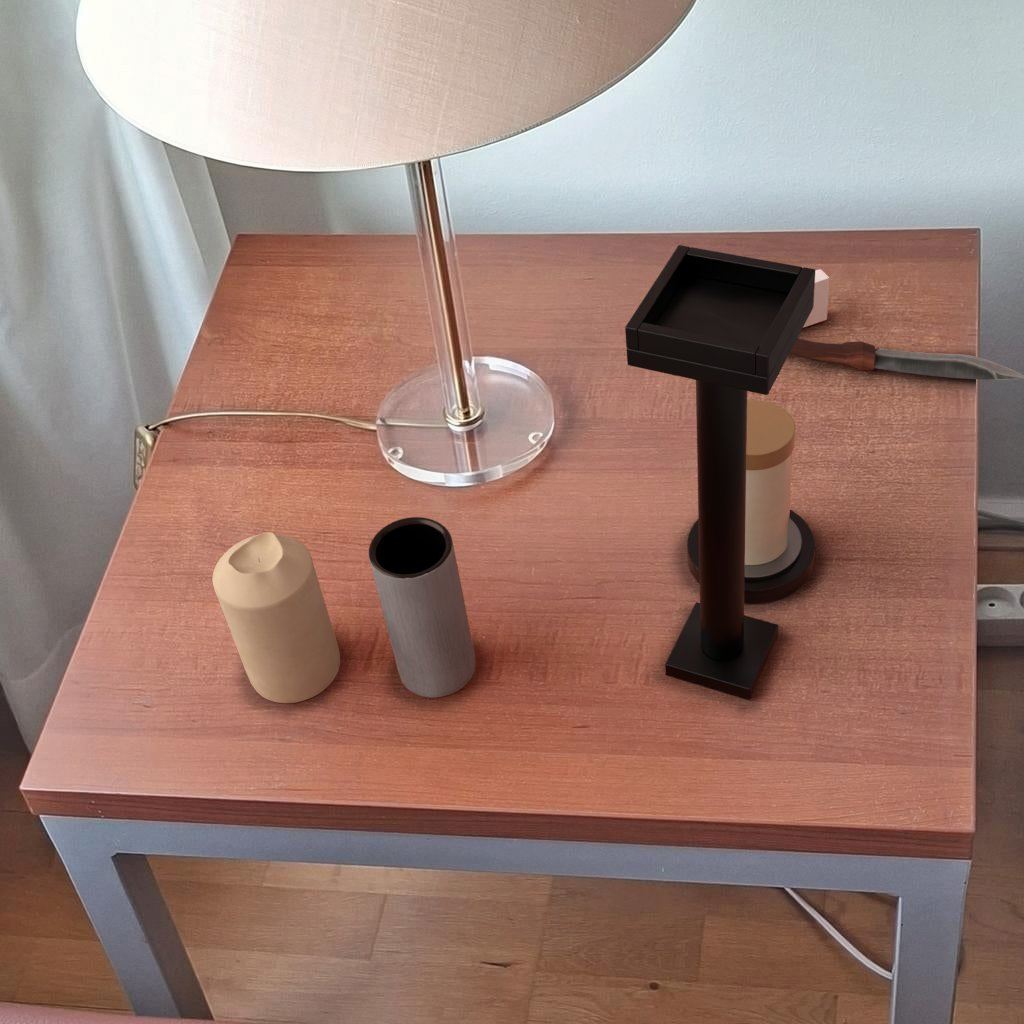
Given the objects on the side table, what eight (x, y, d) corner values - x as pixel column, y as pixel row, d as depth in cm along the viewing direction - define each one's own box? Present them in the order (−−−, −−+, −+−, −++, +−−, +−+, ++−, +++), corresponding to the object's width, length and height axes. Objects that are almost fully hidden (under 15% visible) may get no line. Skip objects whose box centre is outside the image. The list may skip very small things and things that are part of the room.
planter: (488, 649, 83) (466, 526, 76) (455, 707, 80) (428, 586, 73) (420, 629, 85) (392, 507, 77) (385, 686, 82) (352, 565, 75)
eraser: (827, 319, 101) (829, 277, 98) (766, 341, 100) (767, 298, 97) (818, 310, 102) (820, 268, 99) (758, 331, 101) (758, 289, 98)
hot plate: (830, 529, 87) (831, 512, 86) (791, 618, 82) (792, 601, 81) (712, 500, 90) (712, 483, 89) (668, 584, 85) (668, 567, 84)
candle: (285, 620, 86) (246, 503, 79) (359, 649, 84) (326, 532, 77) (230, 685, 83) (184, 570, 76) (305, 717, 81) (265, 602, 74)
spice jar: (800, 522, 85) (806, 409, 79) (775, 575, 83) (779, 462, 76) (727, 504, 87) (728, 392, 81) (701, 555, 84) (699, 443, 78)
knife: (1027, 397, 94) (1027, 371, 96) (1032, 378, 93) (1032, 352, 95) (749, 363, 98) (755, 338, 100) (750, 344, 97) (756, 320, 99)
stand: (796, 629, 82) (815, 268, 64) (759, 715, 78) (768, 356, 60) (688, 599, 84) (678, 244, 66) (646, 681, 80) (624, 327, 62)
